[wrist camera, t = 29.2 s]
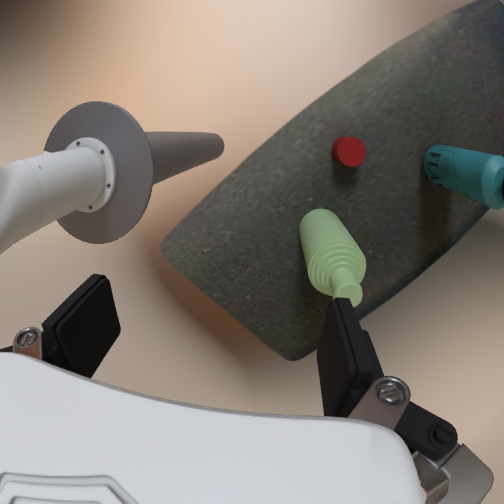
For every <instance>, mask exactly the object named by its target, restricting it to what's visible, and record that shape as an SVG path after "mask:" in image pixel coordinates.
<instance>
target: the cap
mask: <svg viewBox="0 0 504 504" xmlns="http://www.w3.org/2000/svg"><path fill="white" fill-rule="evenodd" d="M332 154H333V157H334V158H335V159H336V160H337V161H338V162H339V163H342V164H344V165H346V166H349V167H355V166H358V165H360V164H361V163H362V162H363V161H364V159H365V156H366V149H365V146H364V144H363V143H362V142H361V141H360V140H359V139H357V138H354V137H341V138H338V139H337V140H336V141H335V142H334V143H333V145H332Z"/></svg>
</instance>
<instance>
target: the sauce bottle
mask: <svg viewBox="0 0 504 504" xmlns="http://www.w3.org/2000/svg"><path fill="white" fill-rule="evenodd" d="M299 235H300V239H301V244H302V248H303V253H304V257H305V262H306V266H307V271H308V276H309V279H310V282H311V283H312V285H313V286H314V287H315V288H316V289H317V290H318V291H320V292H322V293H324V294H326V295H330V296H333V299H335V297H342V298H349V299H350V301H351V303H352V306H353V307H355V306H356V305H358V304H359V303H360V302H361V300H362V288H361V286H360V285H359V284H360V283H361V281H362V279H363V277H364V274H365V271H366V260H365V257H364V255H363V253H362V251H361V250H360V248H359V247H358V245H357V244H356V242H355V241H354V240H353V238H352V237H351V235H350V234H349V232H348V231H347V230H346V228H345V227H344V225H343V224H342V223H341V221H340V220H339V218H338V217H337V216H336V215H335V214H334V213H333V212H331V211H329V210H326V209H316V210H313V211H310V212H309V213H307V214H306V215H305V216H304V217H303V219H302V220H301V223H300V226H299Z"/></svg>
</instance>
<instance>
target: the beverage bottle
mask: <svg viewBox="0 0 504 504" xmlns="http://www.w3.org/2000/svg"><path fill="white" fill-rule="evenodd" d="M424 170H425V173H426V175H427V176H428V178H429V180H431V181H432V182H433V184H434V183H435V184H437V185H438V186H442V187H445V188H447V190H448V189H449V190H450V191H451V190H452V192H453V191H454V192H455V193H456V192H457V193H459V194H462V195H464V196H465V197H467V198H468V197H469V199H473V200H475V201H477V202H479V203H482V204H484V205H487V206H488V207H490V208H491V209H494V210H498V209H501V208H503V207H504V157H502V156H499V155H492V154H487V153H482V152H477V151H472V150H466V149H462V148H457V146H456V147H451V145H450V146H446V145H445V144H444V145H435V146H433V147H431V148H430V149H429V150H428V151H427V152H426V154H425V157H424ZM473 200H472V201H473ZM475 201H474V202H475Z"/></svg>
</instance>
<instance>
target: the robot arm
mask: <svg viewBox="0 0 504 504" xmlns="http://www.w3.org/2000/svg"><path fill="white" fill-rule="evenodd" d="M104 151H105V152H104ZM116 179H117V172H116V165H115V161H114V158H113V155H112V153H111V152H110V150H109V149H108V147H107V146H106V145H105V144H104V143H103V142H101V141H100V140H98V139H96V138H91V137H88V138H80V139H78V140H75V141H74V142H72V143H71V144H70V145H69V146H68V147H67V148H66V150H64V151H59V152H54V153H50V152H47V151H43V152H42V153H41V155H39V156H35V157H31V158H27V159H23V160H19V161H14V162H11V163H8V164H6V165H4V166H2V167H1V168H0V254H2V253H3V252H4V251H5V250H6V249H8V248H9V247H10V246H12V245H13V244H15V243H16V242H18V241H19V240H21V239H23V238H24V237H26V236H28V235H30V234H31V233H33V232H35V231H37V230H39V229H40V228H42V227H44V226H46V225H48V224H50V223H51V222H53V221H55V220H57V219H59V218H61V217H63V216H65V215H67V214H69V213H71V212H73V211H75V210H79V211H82V212H94V211H96V210H98V209H100V208H102V207H103V206H104V205H105V204H107V203H108V201H109V200H110V198H111V197H112V195H113V192H114V189H115V186H116ZM42 327H43V330H44V331H43V332H42V333H41V331H40V330H39V329H38V328H36V327H28V328H25V329H23V330H21V331H20V332H19V333H17V335H16V336H15V338H14V342H13V346H10V347H7V348H3V349H0V504H424V500H423V495H422V490H421V487H422V488H423V489H424V490H425V492H426V497H427V499H426V503H425V504H480V503H481V501H482V500H483V499H484V497H485V496H486V495H487V493H488V492H489V490H490V489H491V487H492V485H493V480H494V477H493V473H492V472H491V470H490V469H489V468H488V467H487V466H486V465H485V464H484V463H483V462H482V461H481V460H480V459H479V458H478V457H477V456H476V455H475V454H474V453H473V452H472V451H471V450H470V449H469V448H468V447H467V446H466V445H464V444H462V445H460V444H458V443H457V440H458V437H457V432H456V429H455V428H454V427H453V425H452V424H450V423H449V422H447V421H445V420H443V419H442V418H440V417H438V416H436V415H434V414H432V413H431V412H428V411H427V410H425V409H423V408H422V407H420V406H418V405H416V404H414V403H413V402H411V401H409V400H410V396H411V393H410V389H409V387H408V386H407V384H406V383H404V382H403V381H402V380H400V379H399V378H396V377H393V376H384V374H383V371H382V368H381V366H380V363H379V360H378V357H377V355H376V352H375V349H374V347H373V344H372V341H371V339H370V336H369V334H368V332H367V331H366V330H362V329H361V327H360V324H359V321H358V318H357V316H356V313H355V311H354V308H353V306H352V303H351V301H350V299H349V298H342V297H335V299H334V301H330V302H329V305H328V309H327V314H326V318H325V322H324V326H323V330H322V334H321V338H320V342H319V346H318V350H317V363H318V370H319V377H320V385H321V393H322V401H323V409H324V416H307V415H283V414H268V413H256V412H245V411H236V410H235V411H234V410H227V409H219V408H212V407H206V406H199V405H194V404H188V403H182V402H177V401H172V400H167V399H163V398H158V397H154V396H150V395H146V394H141V393H138V392H134V391H130V390H126V389H123V388H119V387H116V386H112V385H109V384H105V383H102V382H99V381H96V380H93V379H91V377H92V376H93V374H94V373H95V371H96V370H97V368H98V366H99V365H100V363H101V362H102V360H103V359H104V357H105V356H106V354H107V353H108V351H109V349H110V348H111V346H112V345H113V343H114V342H115V340H116V339H117V337H118V336H119V334H120V330H121V327H120V323H119V319H118V316H117V311H116V307H115V303H114V299H113V294H112V290H111V285H110V281H109V280H108V279H107V278H106V276H105V275H99V274H93V275H91V276H90V277H89V278H88V279H87V280H86V281H85V282H84V283H83V284H82V285H81V286H79V287H78V288H77V289H76V290H75V291H74V292H73V293H72V294H71V295H70V296H69V297H68V298H67V299H66V300H65V301H64V302H63V303H62V304H61V305H60V306H59V307H58V308H57V309H56V310H55V311H54V312H53V313H52V314H51V315H50V316H49V317H48V318H47V319H46V320H45V321H44V322H43V323H42ZM419 480H420V481H421V483H420V481H419Z"/></svg>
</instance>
